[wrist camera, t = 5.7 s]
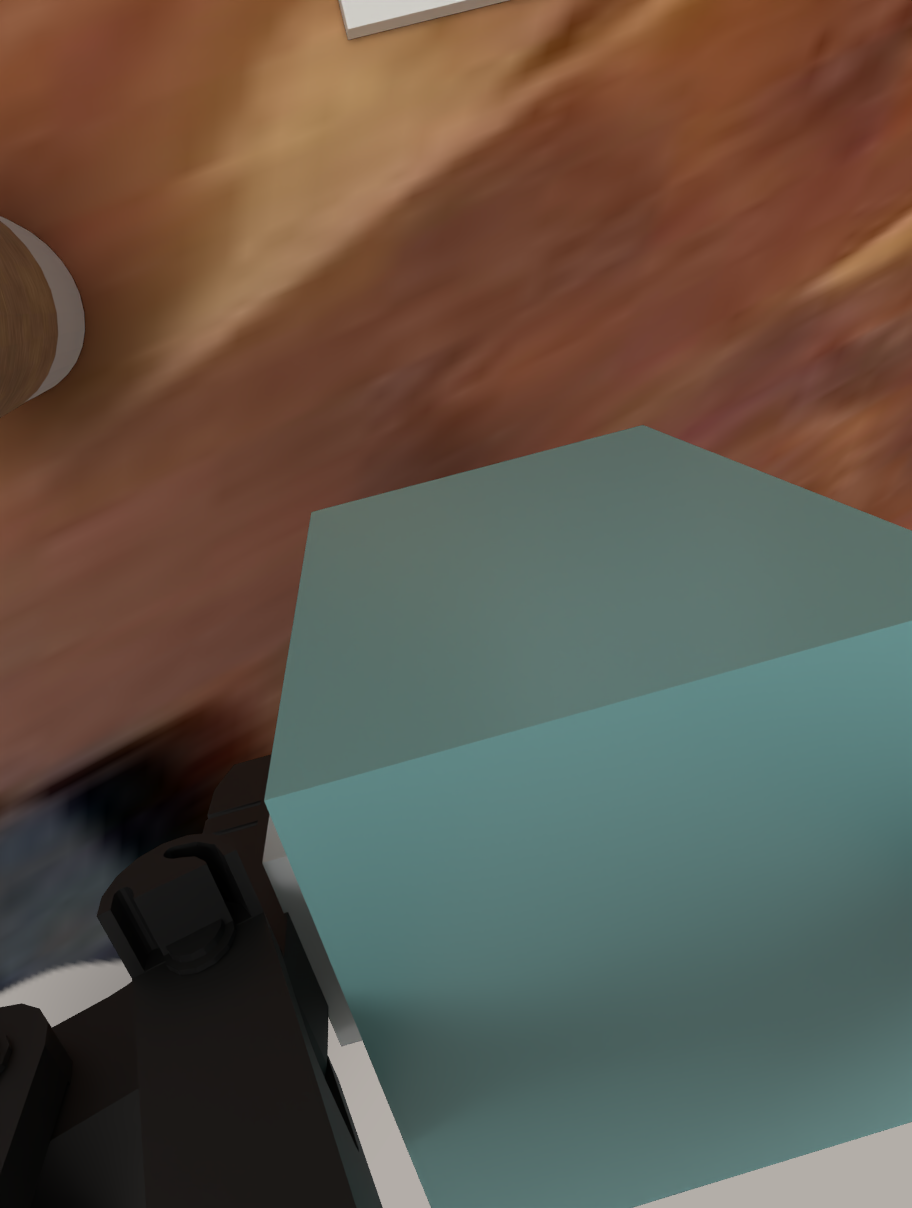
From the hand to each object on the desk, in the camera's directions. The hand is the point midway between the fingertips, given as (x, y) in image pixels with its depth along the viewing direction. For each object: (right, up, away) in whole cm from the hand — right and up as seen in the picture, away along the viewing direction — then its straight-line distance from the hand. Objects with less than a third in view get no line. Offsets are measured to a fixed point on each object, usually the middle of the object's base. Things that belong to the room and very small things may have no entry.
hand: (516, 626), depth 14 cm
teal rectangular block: (0, 0, 0) cm, 0 cm away
